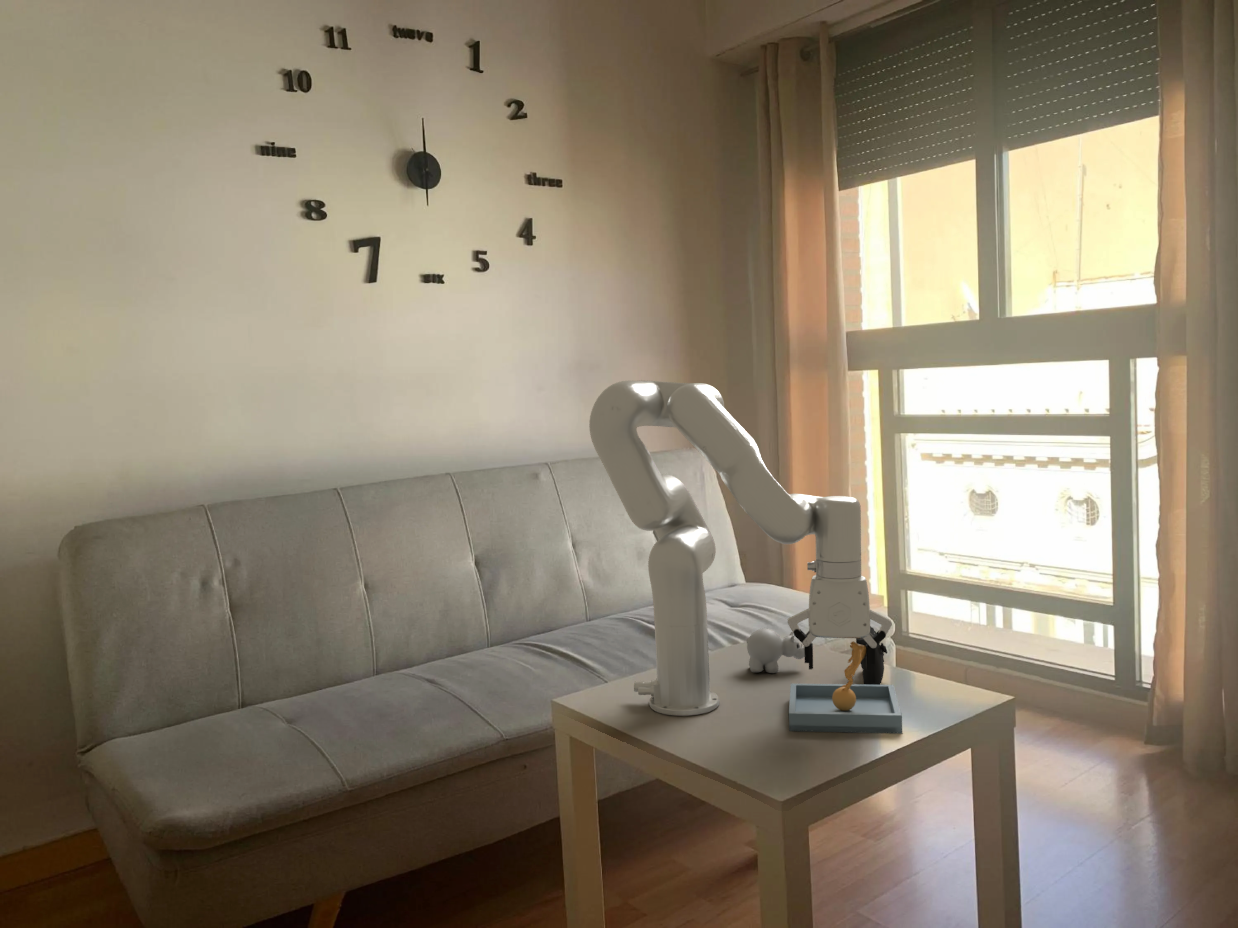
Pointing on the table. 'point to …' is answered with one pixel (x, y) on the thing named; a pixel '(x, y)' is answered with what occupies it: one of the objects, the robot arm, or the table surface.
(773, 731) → the table surface
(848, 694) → the figurine
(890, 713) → the tray
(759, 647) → the chubby cartoon animal
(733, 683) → the table surface
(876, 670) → the black elongated piece
